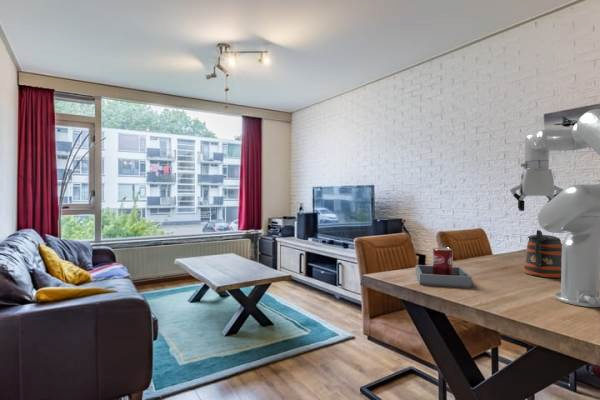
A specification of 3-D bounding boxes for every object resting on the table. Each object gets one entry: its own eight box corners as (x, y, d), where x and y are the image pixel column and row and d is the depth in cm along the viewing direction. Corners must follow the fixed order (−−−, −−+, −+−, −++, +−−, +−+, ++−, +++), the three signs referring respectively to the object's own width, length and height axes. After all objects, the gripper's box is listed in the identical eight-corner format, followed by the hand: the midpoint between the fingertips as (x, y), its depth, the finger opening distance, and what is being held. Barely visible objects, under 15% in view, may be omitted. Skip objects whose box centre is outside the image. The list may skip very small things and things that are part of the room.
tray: (471, 288, 123) (471, 277, 123) (419, 284, 128) (419, 274, 128) (460, 276, 141) (460, 267, 141) (415, 274, 145) (415, 264, 145)
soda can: (448, 276, 137) (448, 247, 137) (455, 281, 130) (455, 250, 130) (430, 276, 138) (430, 247, 138) (435, 280, 131) (436, 249, 131)
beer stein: (562, 282, 132) (563, 232, 132) (518, 276, 142) (519, 229, 141) (566, 274, 146) (567, 228, 146) (526, 269, 156) (527, 226, 155)
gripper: (514, 165, 127) (514, 211, 127) (568, 165, 122) (567, 211, 123) (507, 167, 134) (507, 210, 134) (557, 166, 130) (557, 211, 130)
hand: (535, 211), depth 128 cm, fingers open, 9 cm apart
